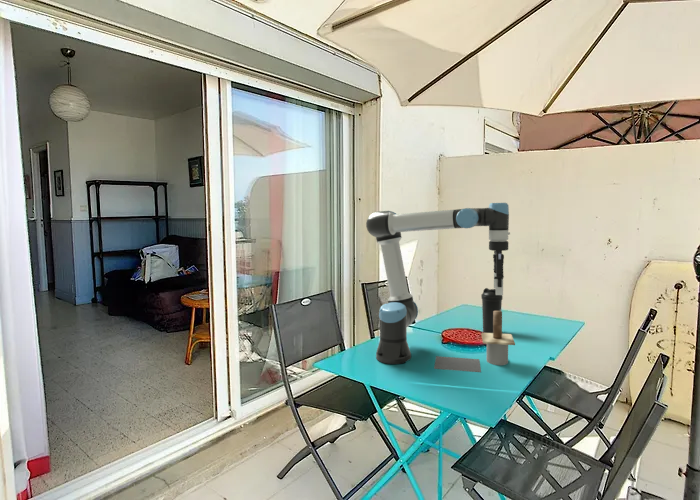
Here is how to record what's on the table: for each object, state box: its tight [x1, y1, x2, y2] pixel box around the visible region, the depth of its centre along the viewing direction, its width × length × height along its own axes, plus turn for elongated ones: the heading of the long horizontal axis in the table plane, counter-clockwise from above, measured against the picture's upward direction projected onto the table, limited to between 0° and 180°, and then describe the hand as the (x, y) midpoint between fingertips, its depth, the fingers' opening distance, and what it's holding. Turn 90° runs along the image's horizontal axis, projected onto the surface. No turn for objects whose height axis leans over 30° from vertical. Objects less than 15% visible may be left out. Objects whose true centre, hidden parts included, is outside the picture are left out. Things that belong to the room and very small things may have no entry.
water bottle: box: [481, 287, 504, 333], centre depth 205 cm, size 10×10×23 cm
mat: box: [433, 355, 482, 373], centre depth 164 cm, size 18×14×1 cm
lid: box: [481, 310, 516, 346], centre depth 164 cm, size 12×12×12 cm
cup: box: [486, 344, 509, 366], centre depth 165 cm, size 8×8×10 cm
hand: (498, 291), depth 165 cm, fingers open, 13 cm apart
